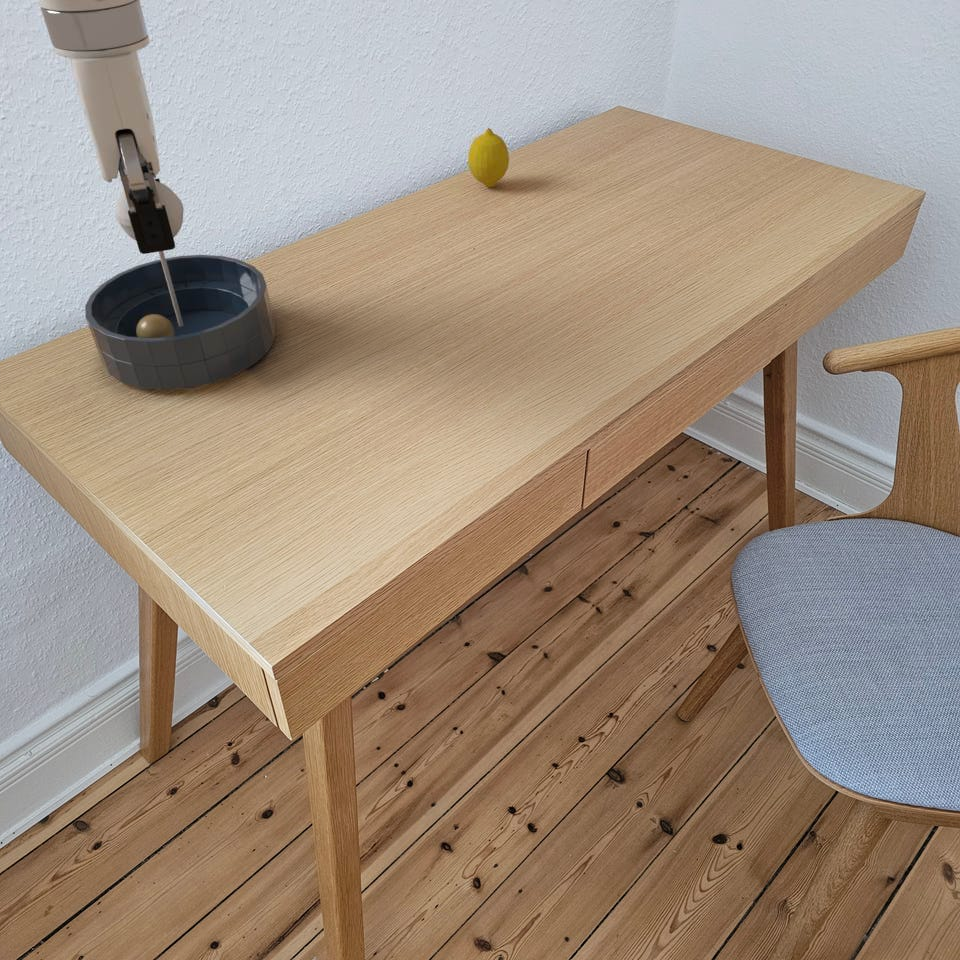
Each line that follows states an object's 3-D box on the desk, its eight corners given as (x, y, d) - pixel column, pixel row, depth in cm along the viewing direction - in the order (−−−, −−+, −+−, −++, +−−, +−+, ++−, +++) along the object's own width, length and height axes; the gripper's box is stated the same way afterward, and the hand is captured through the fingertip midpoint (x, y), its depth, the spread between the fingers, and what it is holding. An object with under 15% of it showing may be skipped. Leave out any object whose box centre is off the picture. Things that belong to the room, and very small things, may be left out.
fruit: (460, 186, 118) (458, 127, 113) (491, 176, 120) (491, 118, 115) (485, 198, 115) (485, 138, 109) (517, 188, 117) (517, 128, 112)
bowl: (107, 411, 79) (86, 356, 75) (101, 322, 91) (83, 271, 88) (290, 372, 84) (279, 319, 80) (261, 293, 96) (251, 243, 92)
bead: (142, 360, 85) (132, 328, 82) (140, 342, 87) (130, 311, 85) (180, 352, 86) (170, 321, 83) (176, 335, 88) (167, 304, 86)
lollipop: (189, 305, 91) (151, 164, 81) (223, 322, 88) (189, 178, 78) (138, 328, 87) (93, 184, 77) (172, 347, 84) (130, 200, 74)
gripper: (50, 9, 74) (111, 207, 86) (45, 58, 62) (117, 282, 74) (139, 1, 76) (187, 196, 88) (152, 48, 64) (205, 267, 76)
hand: (155, 233), depth 81 cm, fingers closed on lollipop, 6 cm apart
